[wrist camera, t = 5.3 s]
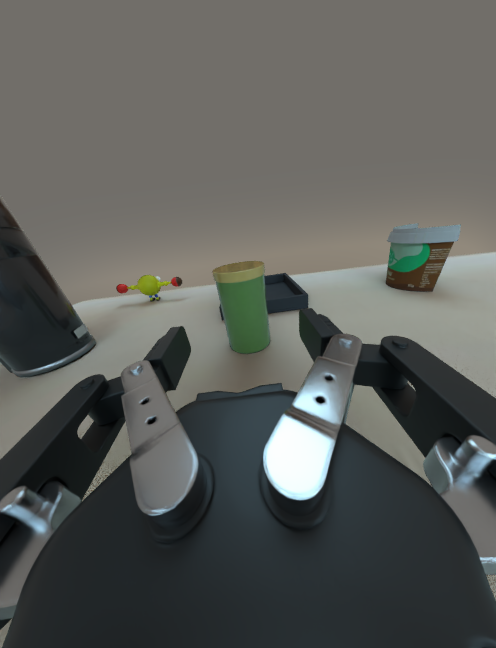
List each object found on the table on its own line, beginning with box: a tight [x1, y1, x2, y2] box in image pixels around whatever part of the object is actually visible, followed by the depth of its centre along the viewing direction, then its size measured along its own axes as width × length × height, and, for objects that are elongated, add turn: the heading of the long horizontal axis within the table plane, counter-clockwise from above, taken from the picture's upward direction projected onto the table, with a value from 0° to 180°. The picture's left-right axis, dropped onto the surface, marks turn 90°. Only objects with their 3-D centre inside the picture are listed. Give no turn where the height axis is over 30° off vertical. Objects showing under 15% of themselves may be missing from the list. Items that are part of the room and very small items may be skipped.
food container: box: [386, 224, 461, 292], centre depth 33 cm, size 12×6×10 cm, turn 164°
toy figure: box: [116, 275, 182, 301], centre depth 47 cm, size 18×6×7 cm, turn 86°
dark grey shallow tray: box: [219, 273, 308, 320], centre depth 39 cm, size 15×17×2 cm
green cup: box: [212, 261, 270, 354], centre depth 22 cm, size 6×6×10 cm
